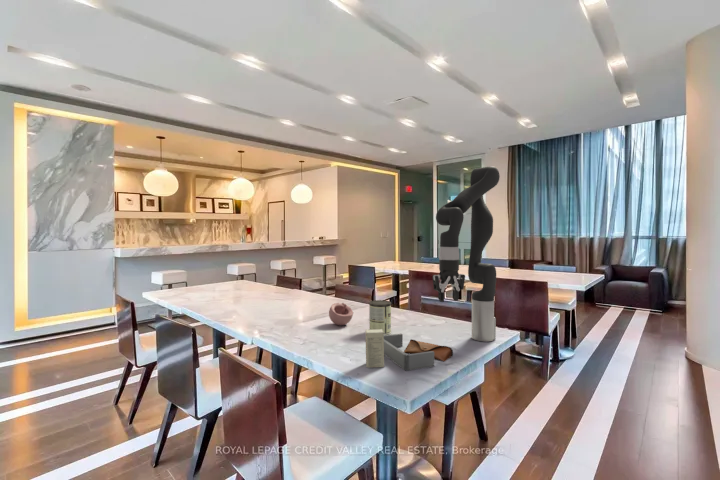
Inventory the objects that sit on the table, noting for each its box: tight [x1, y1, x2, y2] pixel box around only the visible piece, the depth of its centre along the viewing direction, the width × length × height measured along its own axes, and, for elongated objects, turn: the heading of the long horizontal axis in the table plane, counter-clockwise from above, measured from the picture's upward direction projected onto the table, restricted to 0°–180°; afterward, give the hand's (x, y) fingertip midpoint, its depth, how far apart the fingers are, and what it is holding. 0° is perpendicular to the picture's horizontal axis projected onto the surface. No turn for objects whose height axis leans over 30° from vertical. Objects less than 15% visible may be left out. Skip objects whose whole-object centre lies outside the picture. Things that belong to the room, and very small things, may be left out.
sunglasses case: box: [403, 339, 454, 362], centre depth 135 cm, size 18×7×7 cm
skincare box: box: [365, 329, 385, 369], centre depth 123 cm, size 6×4×12 cm
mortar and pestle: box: [328, 302, 354, 326], centre depth 177 cm, size 12×12×12 cm
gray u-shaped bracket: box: [384, 333, 435, 372], centre depth 132 cm, size 11×24×5 cm, turn 21°
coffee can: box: [368, 299, 392, 335], centre depth 164 cm, size 10×10×14 cm
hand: (448, 300), depth 139 cm, fingers open, 6 cm apart
